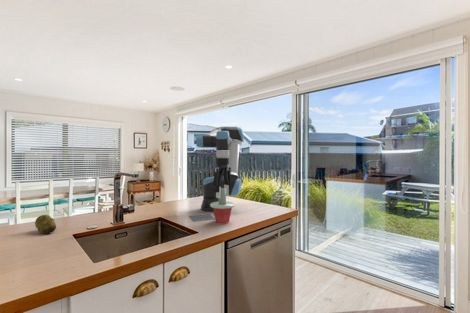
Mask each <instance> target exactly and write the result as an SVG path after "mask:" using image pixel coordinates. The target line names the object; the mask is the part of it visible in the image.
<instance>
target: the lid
mask: <svg viewBox="0 0 470 313" xmlns="http://www.w3.org/2000/svg"><path fill="white" fill-rule="evenodd" d="M210 207H212V208H217V209H227V208H234V207H235V203H234V202H232V201H227V196H226V188H221V198H219V202H213V203H211V204H210Z"/></svg>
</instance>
